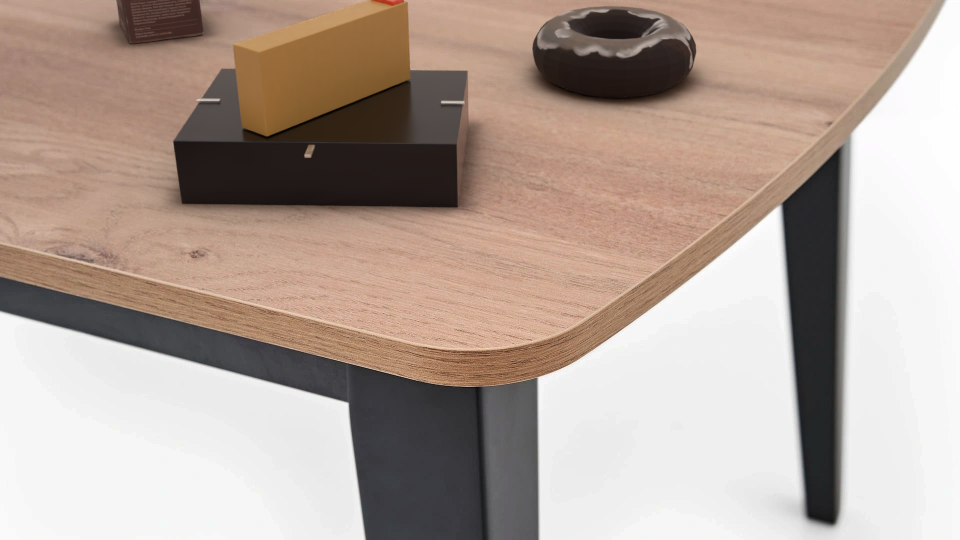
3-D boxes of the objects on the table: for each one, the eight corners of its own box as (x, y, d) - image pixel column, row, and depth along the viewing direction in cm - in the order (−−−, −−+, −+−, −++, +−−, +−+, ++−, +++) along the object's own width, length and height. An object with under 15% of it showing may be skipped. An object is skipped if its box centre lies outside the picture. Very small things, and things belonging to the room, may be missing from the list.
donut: (604, 119, 81) (607, 61, 79) (500, 70, 89) (500, 18, 87) (728, 82, 87) (733, 28, 85) (619, 40, 95) (621, -10, 93)
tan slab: (267, 137, 68) (258, 47, 66) (241, 127, 70) (231, 39, 67) (411, 79, 76) (407, -3, 74) (385, 71, 78) (381, -9, 75)
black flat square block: (170, 221, 68) (160, 153, 66) (233, 113, 82) (226, 55, 80) (457, 225, 68) (456, 156, 66) (471, 116, 82) (470, 57, 80)
